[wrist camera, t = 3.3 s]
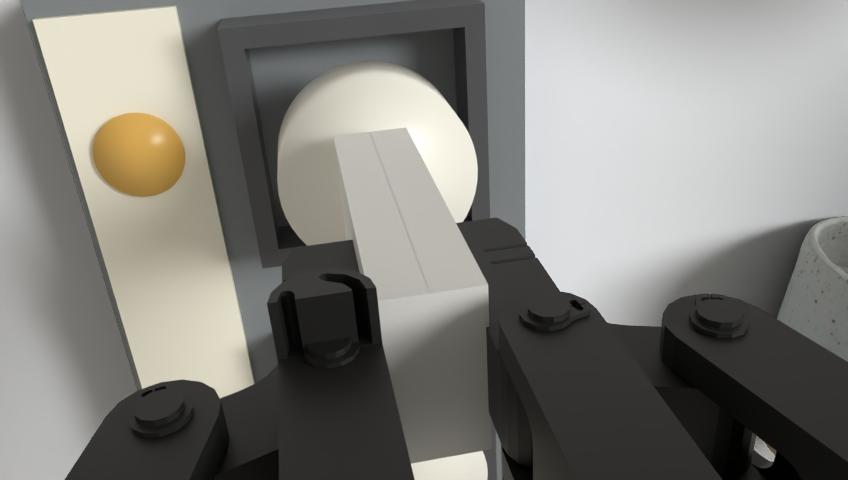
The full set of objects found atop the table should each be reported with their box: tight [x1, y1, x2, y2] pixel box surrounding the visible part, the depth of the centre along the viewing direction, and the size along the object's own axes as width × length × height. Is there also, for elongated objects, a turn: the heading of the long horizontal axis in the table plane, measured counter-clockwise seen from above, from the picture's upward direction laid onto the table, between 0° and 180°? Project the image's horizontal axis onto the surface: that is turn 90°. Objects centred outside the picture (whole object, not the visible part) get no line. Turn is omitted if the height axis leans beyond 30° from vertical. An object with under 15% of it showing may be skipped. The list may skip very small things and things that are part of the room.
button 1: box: [277, 60, 478, 246], centre depth 17 cm, size 4×4×2 cm
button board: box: [20, 0, 525, 480], centre depth 24 cm, size 12×26×4 cm, turn 4°
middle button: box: [411, 451, 488, 480], centre depth 21 cm, size 4×4×2 cm
